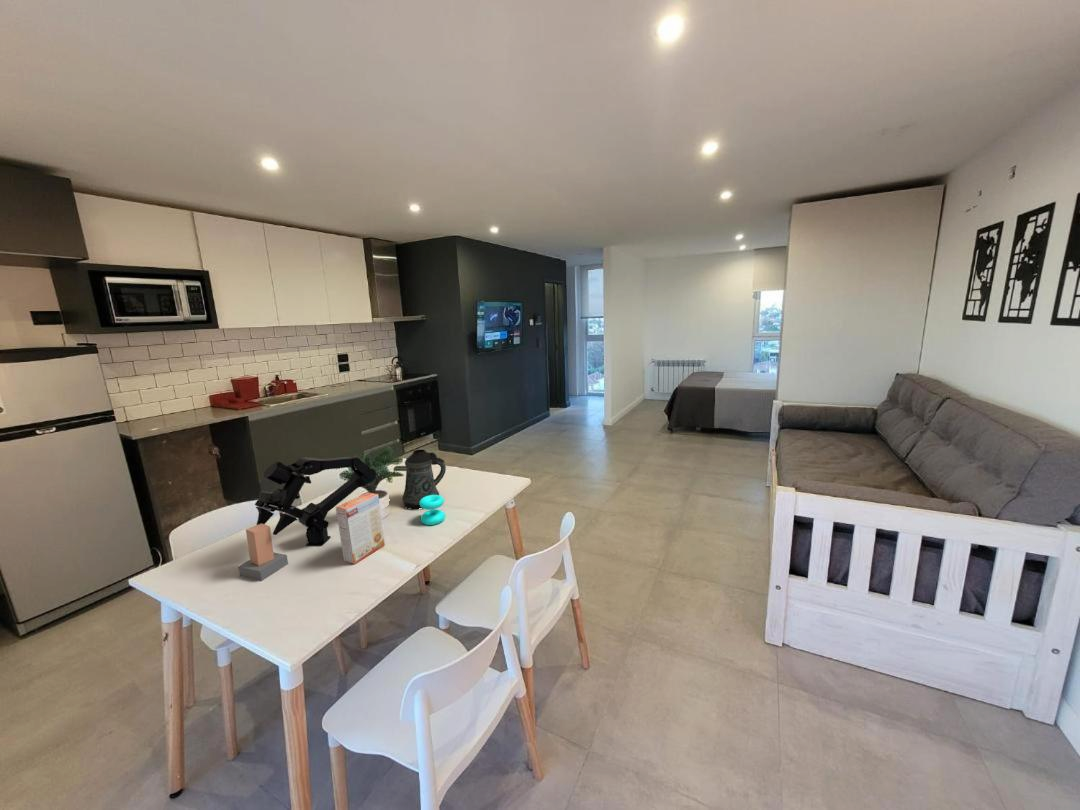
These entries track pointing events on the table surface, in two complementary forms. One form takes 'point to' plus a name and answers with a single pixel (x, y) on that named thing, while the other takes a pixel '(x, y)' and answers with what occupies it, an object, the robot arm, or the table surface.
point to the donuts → (430, 504)
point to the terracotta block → (260, 544)
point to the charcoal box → (263, 567)
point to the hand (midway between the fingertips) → (265, 532)
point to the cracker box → (360, 527)
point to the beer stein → (421, 477)
